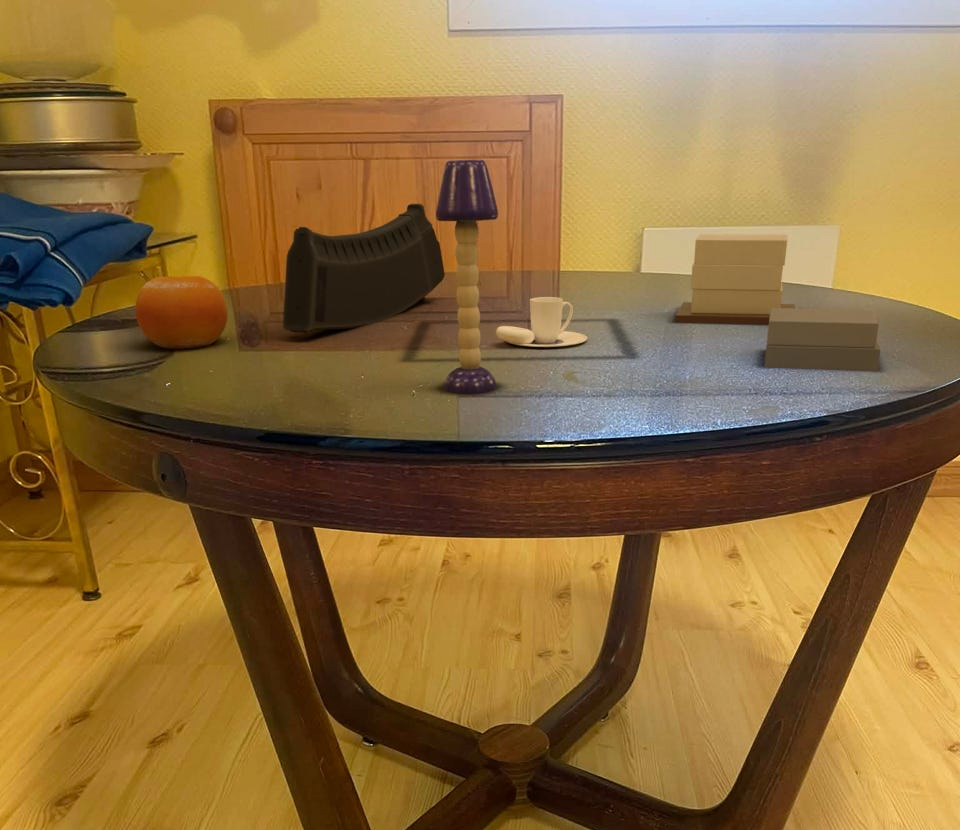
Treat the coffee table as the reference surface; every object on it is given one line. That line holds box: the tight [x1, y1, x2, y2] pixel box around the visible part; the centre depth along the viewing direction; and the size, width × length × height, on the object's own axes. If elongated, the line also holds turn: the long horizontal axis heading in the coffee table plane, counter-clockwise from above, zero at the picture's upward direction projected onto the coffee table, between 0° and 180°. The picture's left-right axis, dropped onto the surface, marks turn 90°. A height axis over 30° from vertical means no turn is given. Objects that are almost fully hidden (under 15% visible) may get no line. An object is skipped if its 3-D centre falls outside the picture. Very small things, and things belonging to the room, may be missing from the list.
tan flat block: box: [693, 233, 788, 267], centre depth 105 cm, size 9×6×2 cm, turn 75°
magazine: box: [282, 203, 446, 334], centre depth 109 cm, size 17×3×30 cm
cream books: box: [674, 263, 795, 326], centre depth 107 cm, size 12×9×6 cm
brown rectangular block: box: [764, 307, 881, 372], centre depth 86 cm, size 9×7×4 cm
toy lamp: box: [435, 159, 499, 395], centre depth 77 cm, size 5×5×17 cm
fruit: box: [134, 275, 228, 350], centre depth 99 cm, size 8×8×8 cm
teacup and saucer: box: [495, 296, 588, 348], centre depth 97 cm, size 9×8×4 cm
